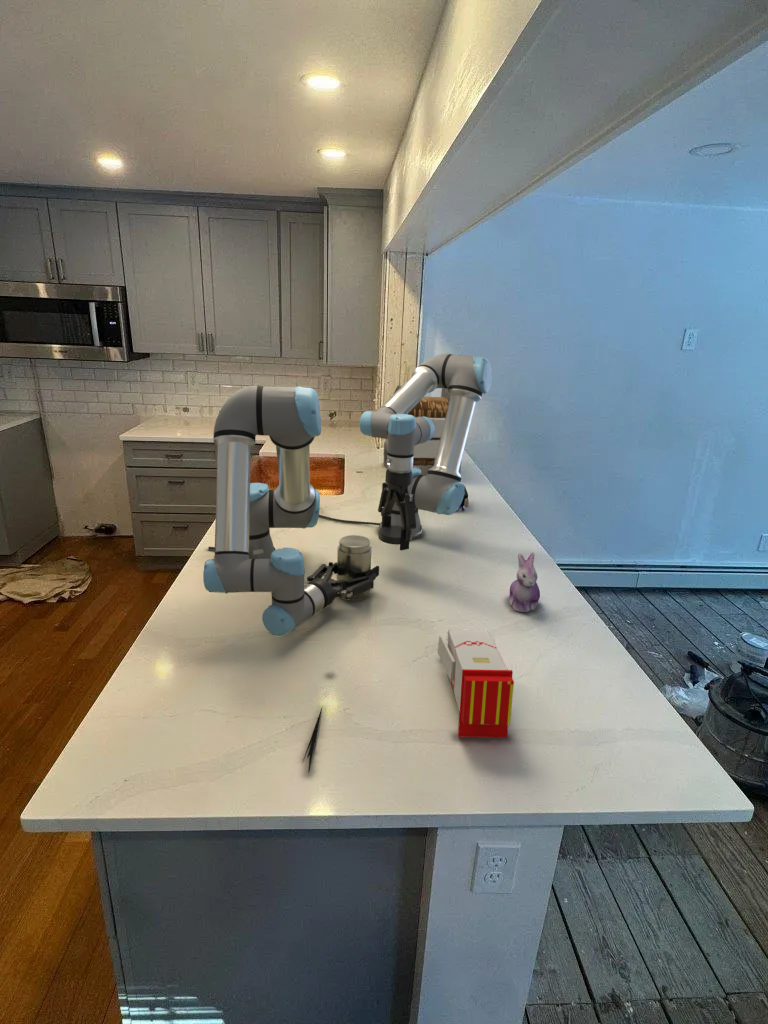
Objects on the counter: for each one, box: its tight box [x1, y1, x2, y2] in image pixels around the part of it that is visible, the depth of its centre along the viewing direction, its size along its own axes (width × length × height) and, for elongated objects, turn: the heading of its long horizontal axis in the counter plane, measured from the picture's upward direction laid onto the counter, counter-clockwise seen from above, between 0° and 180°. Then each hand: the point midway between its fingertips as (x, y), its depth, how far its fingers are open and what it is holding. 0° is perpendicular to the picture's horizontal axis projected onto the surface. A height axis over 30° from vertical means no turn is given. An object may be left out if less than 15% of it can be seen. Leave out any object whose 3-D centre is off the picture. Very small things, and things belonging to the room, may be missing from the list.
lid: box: [378, 526, 413, 546], centre depth 167 cm, size 10×10×2 cm
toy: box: [437, 628, 515, 738], centre depth 117 cm, size 12×13×30 cm
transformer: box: [383, 384, 463, 475], centre depth 268 cm, size 34×33×41 cm
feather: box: [301, 673, 332, 771], centre depth 108 cm, size 2×28×2 cm
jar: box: [336, 534, 373, 601], centre depth 155 cm, size 9×9×16 cm
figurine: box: [508, 552, 541, 613], centre depth 152 cm, size 9×10×15 cm
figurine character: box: [458, 486, 470, 512], centre depth 229 cm, size 7×8×15 cm
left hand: (362, 565), depth 159 cm, fingers closed on jar, 9 cm apart
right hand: (394, 543), depth 168 cm, fingers closed on lid, 10 cm apart
